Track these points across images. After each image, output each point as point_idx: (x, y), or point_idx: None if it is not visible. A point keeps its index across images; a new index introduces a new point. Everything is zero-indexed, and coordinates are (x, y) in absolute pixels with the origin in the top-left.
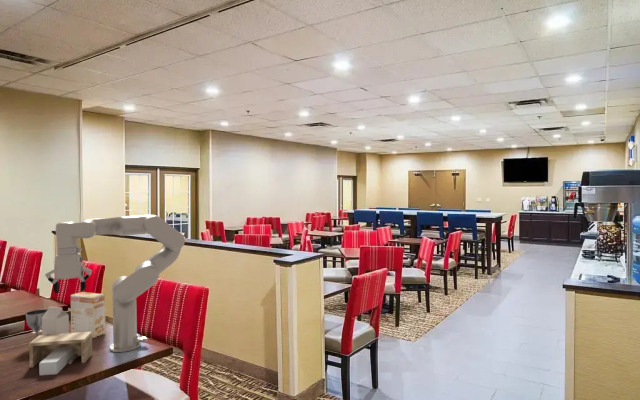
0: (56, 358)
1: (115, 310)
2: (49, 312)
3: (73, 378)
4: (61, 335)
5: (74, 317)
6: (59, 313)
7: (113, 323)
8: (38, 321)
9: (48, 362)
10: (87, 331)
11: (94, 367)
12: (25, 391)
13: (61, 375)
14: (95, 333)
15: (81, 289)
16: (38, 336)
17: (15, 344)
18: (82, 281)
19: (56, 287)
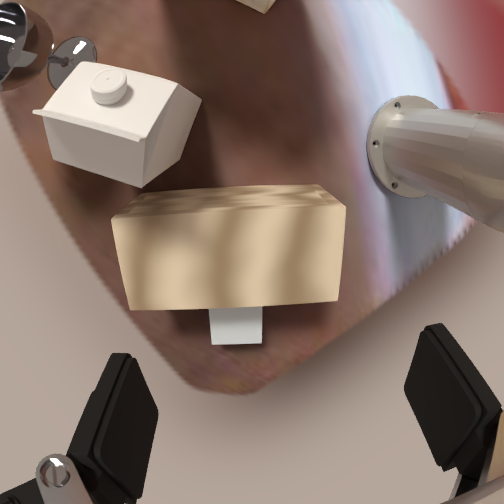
0: (249, 320)
1: (489, 222)
2: (67, 135)
3: (312, 346)
4: (217, 239)
5: None
6: (142, 159)
7: (437, 184)
8: (28, 76)
9: (238, 343)
10: None
11: (349, 293)
12: (227, 385)
13: (275, 329)
14: (272, 3)
15: (416, 402)
16: (116, 235)
17: None
18: (463, 465)
19: (144, 467)
